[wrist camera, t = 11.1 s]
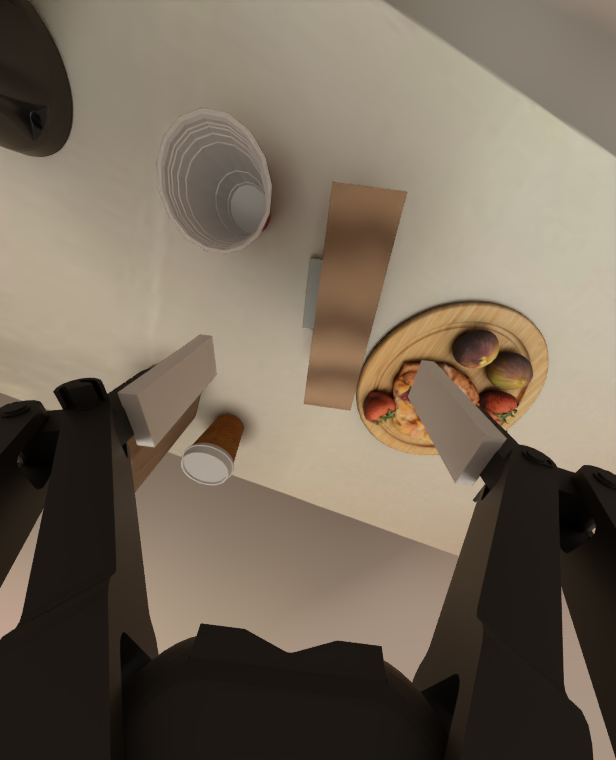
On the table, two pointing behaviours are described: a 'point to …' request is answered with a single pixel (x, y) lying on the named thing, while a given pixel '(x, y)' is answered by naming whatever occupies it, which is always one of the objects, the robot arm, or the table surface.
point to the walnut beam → (350, 288)
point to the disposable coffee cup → (214, 452)
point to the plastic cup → (214, 181)
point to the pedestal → (312, 292)
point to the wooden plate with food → (453, 369)
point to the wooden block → (157, 447)
